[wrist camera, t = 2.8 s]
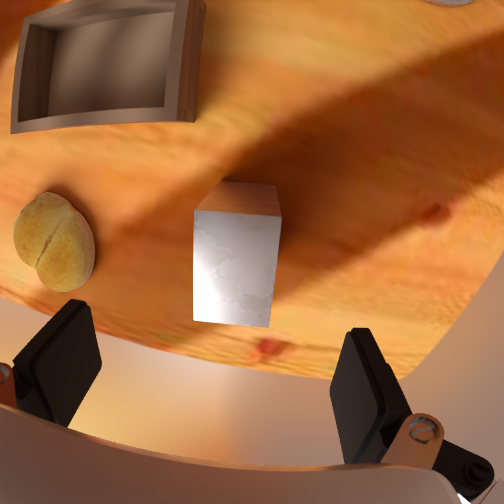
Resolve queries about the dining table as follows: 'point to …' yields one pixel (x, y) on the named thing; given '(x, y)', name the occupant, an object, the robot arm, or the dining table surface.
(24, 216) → the bread roll
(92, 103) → the open box
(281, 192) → the dining table surface
